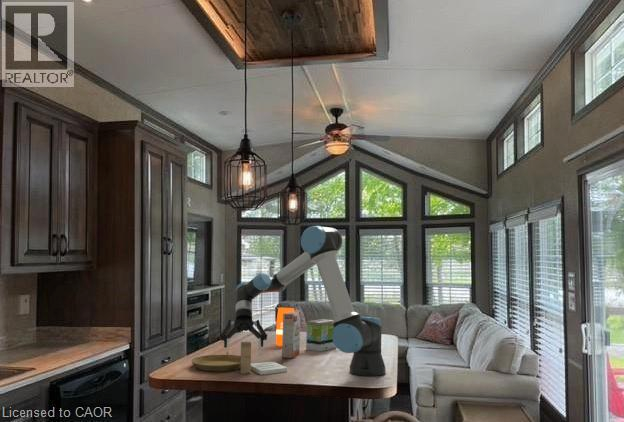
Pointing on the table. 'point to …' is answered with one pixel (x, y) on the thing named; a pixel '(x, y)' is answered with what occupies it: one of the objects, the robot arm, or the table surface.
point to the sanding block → (245, 358)
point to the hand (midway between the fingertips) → (243, 353)
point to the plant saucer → (217, 362)
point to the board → (268, 368)
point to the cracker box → (291, 334)
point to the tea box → (320, 335)
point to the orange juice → (281, 324)
